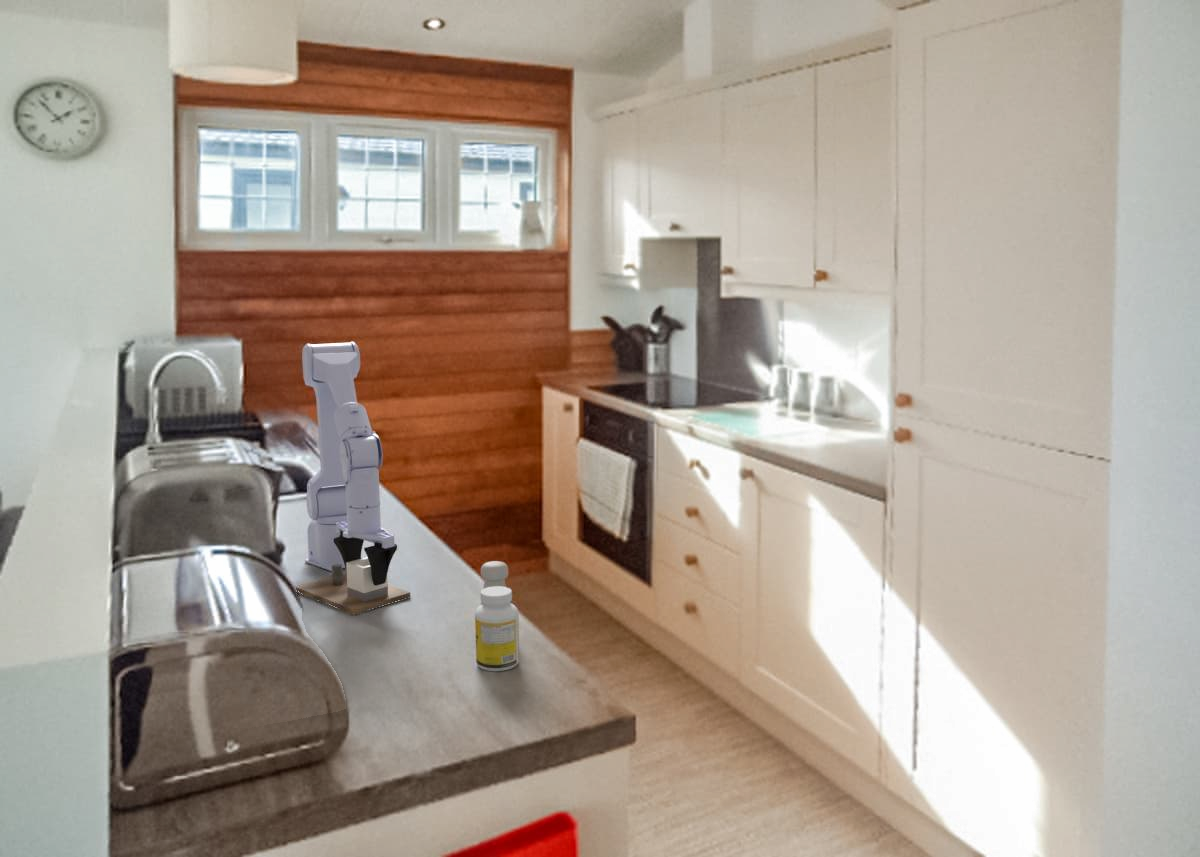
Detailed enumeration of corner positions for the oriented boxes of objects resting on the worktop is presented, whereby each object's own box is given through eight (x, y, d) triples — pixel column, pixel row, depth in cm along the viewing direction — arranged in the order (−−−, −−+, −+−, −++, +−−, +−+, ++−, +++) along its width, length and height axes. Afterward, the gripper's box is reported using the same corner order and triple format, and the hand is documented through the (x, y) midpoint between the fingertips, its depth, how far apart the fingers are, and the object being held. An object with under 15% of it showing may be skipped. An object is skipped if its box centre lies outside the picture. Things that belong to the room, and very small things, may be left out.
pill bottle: (495, 653, 166) (493, 581, 164) (528, 662, 163) (526, 589, 161) (467, 666, 161) (465, 592, 159) (500, 676, 157) (498, 601, 155)
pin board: (295, 592, 195) (294, 568, 194) (351, 576, 204) (350, 553, 203) (354, 615, 183) (352, 589, 182) (410, 597, 192) (409, 573, 191)
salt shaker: (508, 649, 168) (506, 570, 165) (472, 647, 169) (471, 567, 166) (518, 636, 173) (517, 558, 171) (484, 633, 174) (482, 556, 172)
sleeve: (347, 595, 190) (346, 562, 189) (371, 588, 194) (369, 556, 193) (364, 601, 187) (363, 568, 186) (388, 594, 190) (386, 561, 189)
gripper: (319, 502, 189) (323, 576, 191) (369, 516, 179) (372, 593, 182) (353, 494, 194) (356, 567, 197) (403, 508, 185) (405, 583, 187)
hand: (366, 579), depth 190 cm, fingers open, 7 cm apart
